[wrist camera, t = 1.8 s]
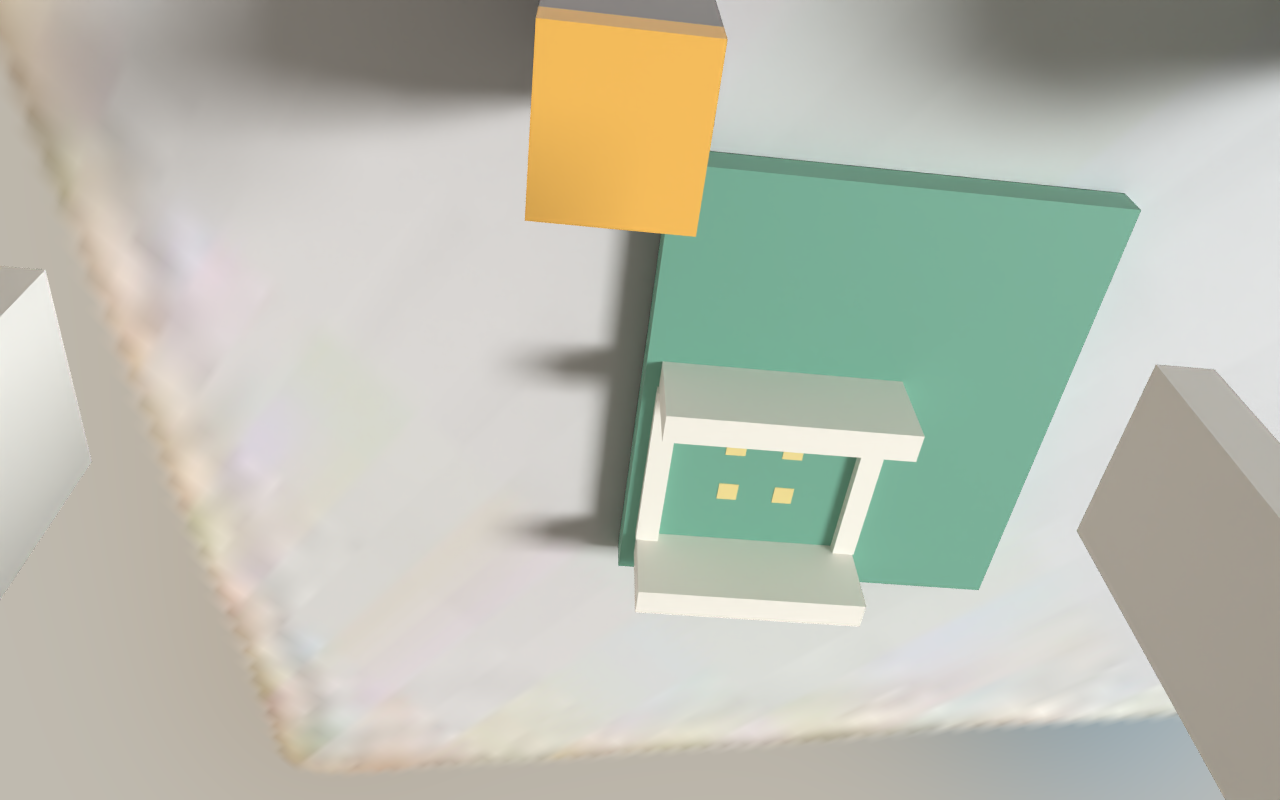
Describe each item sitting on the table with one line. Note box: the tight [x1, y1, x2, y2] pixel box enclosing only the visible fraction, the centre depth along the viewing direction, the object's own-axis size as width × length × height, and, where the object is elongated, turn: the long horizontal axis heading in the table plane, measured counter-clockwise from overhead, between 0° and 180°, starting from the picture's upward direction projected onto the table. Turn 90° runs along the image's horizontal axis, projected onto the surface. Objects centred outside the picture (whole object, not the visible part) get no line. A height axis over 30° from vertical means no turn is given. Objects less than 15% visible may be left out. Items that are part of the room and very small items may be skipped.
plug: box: [525, 0, 727, 237], centre depth 24 cm, size 5×4×10 cm
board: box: [618, 151, 1141, 627], centre depth 34 cm, size 16×14×4 cm
